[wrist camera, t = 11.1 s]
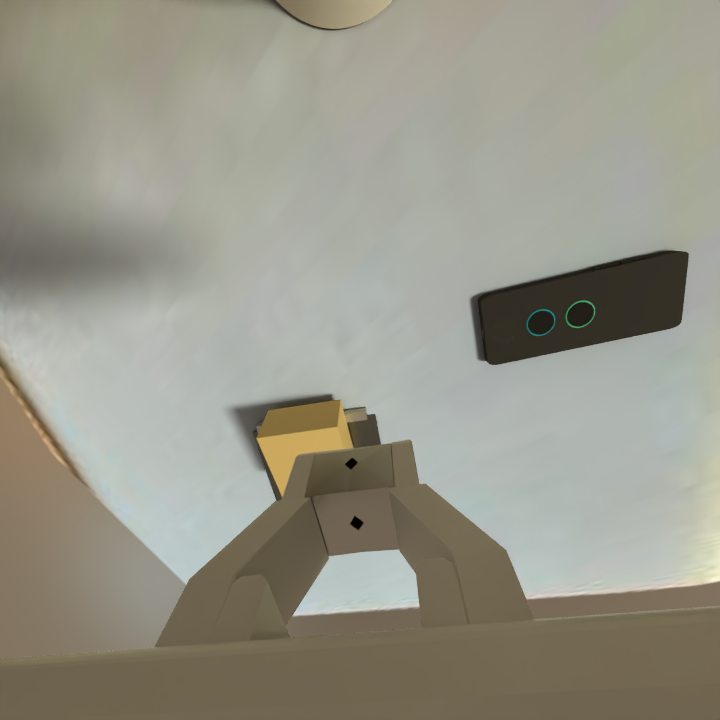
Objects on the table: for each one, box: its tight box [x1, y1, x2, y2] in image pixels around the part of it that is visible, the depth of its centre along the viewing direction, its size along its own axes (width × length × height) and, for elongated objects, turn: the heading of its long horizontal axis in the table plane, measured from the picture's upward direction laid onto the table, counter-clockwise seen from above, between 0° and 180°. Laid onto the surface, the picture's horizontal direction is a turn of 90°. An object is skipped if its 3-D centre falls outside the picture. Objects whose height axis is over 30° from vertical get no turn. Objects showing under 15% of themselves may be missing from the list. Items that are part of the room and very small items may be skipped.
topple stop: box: [253, 407, 381, 501], centre depth 44 cm, size 13×16×1 cm
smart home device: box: [478, 251, 689, 365], centre depth 36 cm, size 8×2×20 cm
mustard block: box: [257, 399, 353, 497], centre depth 40 cm, size 5×9×10 cm
